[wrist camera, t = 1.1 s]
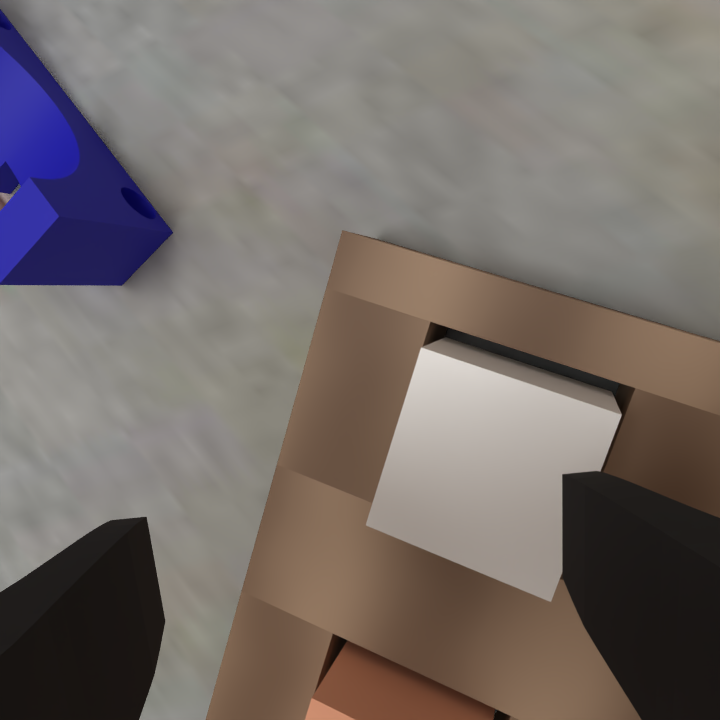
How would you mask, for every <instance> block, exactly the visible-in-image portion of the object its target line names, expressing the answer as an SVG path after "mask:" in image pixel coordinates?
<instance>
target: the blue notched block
mask: <svg viewBox="0 0 720 720" xmlns="http://www.w3.org/2000/svg"><path fill="white" fill-rule="evenodd" d="M18 184H20V185H21V187H20V189H19V190H18V191H17V192H16V193H15V195H14V196H13V197H12V198H11V199H10V200H9V202H8V203H7V204H6V205H5V206H4V208H3V209H2V210H1V211H0V285H118V286H122V285H123V284H124V283H125V282H126V281H127V280H128V279H129V278H130V277H131V276H132V274H133V273H134V272H135V271H136V270H137V269H138V268H139V267H140V266H141V265H142V264H143V263H144V262H145V261H146V260H147V259H148V258H149V257H150V256H151V255H152V254H153V253H154V252H155V251H156V250H157V249H158V248H159V246H160V245H161V244H162V243H163V242H164V241H165V240H166V239H167V238H168V237H169V236H170V235H171V234H172V233H173V232H172V231H171V229H170V228H169V227H168V225H167V224H166V223H165V222H164V220H163V219H162V218H161V216H160V215H159V214H158V213H157V211H156V210H155V209H154V207H153V206H152V205H151V203H150V202H149V201H148V200H147V198H146V197H145V196H144V194H143V193H142V192H141V191H140V189H139V188H138V187H137V185H136V184H135V183H134V181H133V180H132V179H131V178H130V176H129V175H128V174H127V172H126V171H125V170H124V169H123V167H122V166H121V165H120V163H119V162H118V161H117V159H116V158H115V157H114V156H113V154H112V153H111V152H110V150H109V149H108V148H107V147H106V145H105V144H104V143H103V141H102V140H101V139H100V137H99V136H98V135H97V134H96V132H95V131H94V130H93V128H92V127H91V126H90V125H89V123H88V122H87V121H86V119H85V118H84V117H83V116H82V114H81V113H80V112H79V110H78V109H77V108H76V106H75V105H74V104H73V103H72V101H71V100H70V99H69V97H68V96H67V95H66V94H65V92H64V91H63V90H62V88H61V87H60V86H59V84H58V83H57V82H56V81H55V79H54V78H53V77H52V75H51V74H50V73H49V72H48V70H47V69H46V68H45V66H44V65H43V64H42V62H41V61H40V60H39V59H38V57H37V56H36V55H35V53H34V52H33V51H32V50H31V48H30V47H29V46H28V44H27V43H26V42H25V40H24V39H23V38H22V37H21V35H20V34H19V33H18V31H17V30H16V29H15V28H14V26H13V25H12V24H11V22H10V21H9V20H8V18H7V17H6V16H5V15H4V13H3V12H2V11H1V9H0V192H2V193H8V194H11V193H12V191H13V190H14V189H15V188H16V187H17V186H18Z"/></svg>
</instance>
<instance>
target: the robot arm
mask: <svg viewBox="0 0 720 720" xmlns="http://www.w3.org/2000/svg"><path fill="white" fill-rule="evenodd" d="M562 578H563V580H564V583H565V585H566V587H567V590H568V592H569V594H570V597H571V599H572V602H573V604H574V606H575V608H576V611H577V613H578V615H579V617H580V619H581V621H582V624H583V626H584V628H585V629H586V631H587V633H588V634H589V636H590V638H591V639H592V641H593V643H594V644H595V646H596V648H597V649H598V651H599V652H600V654H601V656H602V657H603V659H604V661H605V662H606V664H607V665H608V667H609V669H610V670H611V672H612V673H613V675H614V677H615V678H616V680H617V681H618V683H619V685H620V686H621V688H622V689H623V691H624V693H625V694H626V696H627V697H628V699H629V701H630V702H631V704H632V705H633V707H634V709H635V710H636V712H637V713H638V715H639V716H640V718H641V720H720V518H719V517H716V516H714V515H711V514H708V513H706V512H703V511H701V510H698V509H696V508H693V507H690V506H688V505H685V504H683V503H681V502H678V501H676V500H673V499H671V498H668V497H666V496H663V495H661V494H659V493H656V492H654V491H651V490H649V489H646V488H644V487H642V486H639V485H637V484H634V483H632V482H629V481H627V480H624V479H621V478H619V477H616V476H613V475H610V474H607V473H604V472H600V471H590V472H580V473H570V474H562ZM164 625H165V617H164V611H163V606H162V600H161V595H160V589H159V584H158V578H157V573H156V567H155V561H154V556H153V550H152V545H151V539H150V534H149V528H148V522H147V517H140V518H130V519H120V520H111V521H109V522H107V523H105V524H103V525H101V526H99V527H97V528H96V529H94V530H93V531H91V532H89V533H88V534H86V535H85V536H83V537H82V538H80V539H79V540H77V541H76V542H74V543H73V544H72V545H70V546H69V547H67V548H66V549H64V550H63V551H61V552H60V553H59V554H57V555H56V556H54V557H53V558H51V559H50V560H48V561H47V562H45V563H44V564H43V565H41V566H40V567H38V568H37V569H35V570H34V571H32V572H31V573H29V574H28V575H27V576H25V577H24V578H22V579H20V580H19V581H17V582H16V583H14V584H13V585H11V586H9V587H8V588H6V589H5V590H3V591H2V592H0V720H139V718H140V715H141V712H142V709H143V707H144V704H145V701H146V698H147V695H148V692H149V689H150V686H151V683H152V680H153V677H154V674H155V669H156V665H157V660H158V656H159V651H160V646H161V641H162V635H163V630H164Z"/></svg>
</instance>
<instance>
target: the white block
mask: <svg viewBox="0 0 720 720" xmlns="http://www.w3.org/2000/svg"><path fill="white" fill-rule="evenodd" d="M621 416H622V414H621V412H620V409H619V407H618V405H617V402H616V400H615V398H614V395H613V393H612V392H611V391H608V390H605V389H602V388H599V387H596V386H593V385H590V384H587V383H584V382H581V381H578V380H575V379H572V378H569V377H566V376H563V375H559V374H556V373H553V372H550V371H547V370H544V369H541V368H538V367H535V366H532V365H529V364H526V363H523V362H520V361H517V360H514V359H511V358H508V357H505V356H502V355H499V354H496V353H492V352H489V351H486V350H483V349H480V348H477V347H474V346H471V345H468V344H465V343H462V342H459V341H456V340H453V339H450V338H447V337H445V338H443V339H440V340H438V341H435V342H433V343H431V344H428V345H426V346H423V347H421V349H420V353H419V356H418V359H417V362H416V365H415V369H414V372H413V375H412V378H411V381H410V385H409V388H408V391H407V394H406V397H405V401H404V404H403V407H402V410H401V413H400V417H399V420H398V423H397V426H396V429H395V433H394V436H393V439H392V442H391V445H390V449H389V452H388V455H387V458H386V461H385V465H384V468H383V471H382V474H381V477H380V481H379V484H378V487H377V490H376V493H375V497H374V500H373V503H372V506H371V510H370V513H369V516H368V519H367V522H366V526H369V527H371V528H373V529H376V530H378V531H381V532H383V533H385V534H388V535H390V536H393V537H395V538H397V539H400V540H402V541H405V542H407V543H410V544H412V545H414V546H417V547H419V548H422V549H424V550H426V551H429V552H431V553H434V554H436V555H438V556H441V557H443V558H446V559H448V560H451V561H453V562H455V563H458V564H460V565H463V566H465V567H467V568H470V569H472V570H475V571H477V572H479V573H482V574H484V575H487V576H489V577H492V578H494V579H496V580H499V581H501V582H504V583H506V584H508V585H511V586H513V587H516V588H518V589H520V590H523V591H525V592H528V593H530V594H533V595H535V596H537V597H540V598H542V599H545V600H547V601H549V602H551V600H552V598H553V595H554V593H555V590H556V587H557V585H558V582H559V579H560V577H561V574H562V474H570V473H580V472H590V471H601V469H602V466H603V463H604V461H605V458H606V455H607V453H608V450H609V447H610V445H611V442H612V440H613V437H614V434H615V432H616V429H617V426H618V424H619V421H620V418H621Z"/></svg>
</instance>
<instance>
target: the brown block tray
mask: <svg viewBox="0 0 720 720" xmlns="http://www.w3.org/2000/svg"><path fill="white" fill-rule="evenodd" d="M448 327H449V328H452V329H455V330H458V331H461V332H464V333H467V334H470V335H473V336H476V337H479V338H483V339H486V340H489V341H492V342H495V343H498V344H501V345H504V346H507V347H510V348H513V349H516V350H520V351H523V352H526V353H529V354H532V355H535V356H538V357H541V358H544V359H547V360H550V361H553V362H557V363H560V364H563V365H566V366H569V367H572V368H575V369H578V370H581V371H584V372H587V373H590V374H594V375H597V376H600V377H603V378H606V379H609V380H612V381H615V382H618V383H620V385H619V387H618V390H617V393H616V395H615V400H616V402H617V405H618V407H619V409H620V412H621V414H622V416H621V418H620V421H619V424H618V426H617V429H616V432H615V434H614V437H613V440H612V442H611V445H610V447H609V450H608V453H607V455H606V458H605V461H604V463H603V466H602V469H601V471H600V472H604V473H607V474H610V475H613V476H616V477H619V478H621V479H624V480H627V481H629V482H632V483H634V484H637V485H639V486H642V487H644V488H646V489H649V490H651V491H654V492H656V493H659V494H661V495H663V496H666V497H668V498H671V499H673V500H676V501H678V502H681V503H683V504H685V505H688V506H690V507H693V508H696V509H698V510H701V511H703V512H706V513H708V514H711V515H714V516H716V517H719V518H720V341H717V340H713V339H710V338H707V337H703V336H700V335H697V334H693V333H690V332H686V331H683V330H680V329H676V328H673V327H670V326H666V325H663V324H660V323H656V322H653V321H650V320H646V319H643V318H640V317H636V316H633V315H629V314H626V313H623V312H619V311H616V310H613V309H609V308H606V307H603V306H599V305H596V304H593V303H589V302H586V301H583V300H579V299H576V298H572V297H569V296H566V295H562V294H559V293H556V292H552V291H549V290H546V289H542V288H539V287H536V286H532V285H529V284H526V283H522V282H519V281H516V280H512V279H509V278H505V277H502V276H499V275H495V274H492V273H489V272H485V271H482V270H479V269H475V268H472V267H469V266H465V265H462V264H459V263H455V262H452V261H448V260H445V259H442V258H438V257H435V256H432V255H428V254H425V253H422V252H418V251H415V250H412V249H408V248H405V247H402V246H398V245H395V244H392V243H388V242H385V241H381V240H378V239H375V238H371V237H367V236H363V235H359V234H355V233H351V232H347V231H343V230H342V234H341V237H340V241H339V244H338V248H337V251H336V255H335V259H334V262H333V266H332V269H331V273H330V276H329V280H328V284H327V287H326V291H325V294H324V298H323V302H322V305H321V309H320V312H319V316H318V319H317V323H316V327H315V330H314V334H313V337H312V341H311V345H310V348H309V352H308V355H307V359H306V362H305V366H304V370H303V373H302V377H301V380H300V384H299V388H298V391H297V395H296V398H295V402H294V405H293V409H292V413H291V416H290V420H289V423H288V427H287V431H286V434H285V438H284V441H283V445H282V448H281V452H280V456H279V459H278V463H277V466H276V470H275V473H274V477H273V481H272V484H271V488H270V491H269V495H268V499H267V502H266V506H265V509H264V513H263V516H262V520H261V524H260V527H259V531H258V534H257V538H256V542H255V545H254V549H253V552H252V556H251V559H250V563H249V567H248V570H247V574H246V577H245V581H244V585H243V588H242V592H241V595H240V599H239V602H238V606H237V610H236V613H235V617H234V620H233V624H232V628H231V631H230V635H229V638H228V642H227V645H226V649H225V653H224V656H223V660H222V663H221V667H220V670H219V674H218V678H217V681H216V685H215V688H214V692H213V696H212V699H211V703H210V706H209V710H208V713H207V717H206V720H305V718H306V715H307V711H308V708H309V705H310V702H311V699H312V697H313V695H314V693H315V692H316V690H317V689H318V687H319V685H320V684H321V682H322V681H323V679H324V677H325V676H326V674H327V672H328V671H329V669H330V668H331V666H332V664H333V663H334V661H335V660H336V658H337V656H338V655H339V653H340V652H341V650H342V648H343V647H344V645H345V643H346V642H347V640H348V641H350V642H352V643H355V644H357V645H359V646H361V647H363V648H365V649H367V650H370V651H372V652H374V653H376V654H378V655H380V656H383V657H385V658H387V659H389V660H391V661H393V662H395V663H398V664H400V665H402V666H404V667H406V668H408V669H411V670H413V671H415V672H417V673H419V674H421V675H424V676H426V677H428V678H430V679H432V680H434V681H436V682H439V683H441V684H443V685H445V686H447V687H449V688H452V689H454V690H456V691H458V692H460V693H462V694H464V695H467V696H469V697H471V698H473V699H475V700H477V701H480V702H482V703H484V704H486V705H488V706H490V707H492V708H495V709H497V713H496V715H495V718H494V720H641V718H640V716H639V715H638V713H637V712H636V710H635V709H634V707H633V705H632V704H631V702H630V701H629V699H628V697H627V696H626V694H625V693H624V691H623V689H622V688H621V686H620V685H619V683H618V681H617V680H616V678H615V677H614V675H613V673H612V672H611V670H610V669H609V667H608V665H607V664H606V662H605V661H604V659H603V657H602V656H601V654H600V652H599V651H598V649H597V648H596V646H595V644H594V643H593V641H592V639H591V638H590V636H589V634H588V633H587V631H586V629H585V628H584V626H583V624H582V621H581V619H580V617H579V615H578V613H577V611H576V608H575V606H574V604H573V602H572V599H571V597H570V594H569V592H568V590H567V587H566V585H565V583H564V580H563V578H562V574H561V577H560V579H559V582H558V585H557V587H556V590H555V593H554V595H553V598H552V600H551V602H549V601H547V600H545V599H542V598H540V597H537V596H535V595H533V594H530V593H528V592H525V591H523V590H520V589H518V588H516V587H513V586H511V585H508V584H506V583H504V582H501V581H499V580H496V579H494V578H492V577H489V576H487V575H484V574H482V573H479V572H477V571H475V570H472V569H470V568H467V567H465V566H463V565H460V564H458V563H455V562H453V561H451V560H448V559H446V558H443V557H441V556H438V555H436V554H434V553H431V552H429V551H426V550H424V549H422V548H419V547H417V546H414V545H412V544H410V543H407V542H405V541H402V540H400V539H397V538H395V537H393V536H390V535H388V534H385V533H383V532H381V531H378V530H376V529H373V528H371V527H369V526H366V522H367V519H368V516H369V513H370V510H371V506H372V503H373V500H374V497H375V493H376V490H377V487H378V484H379V481H380V477H381V474H382V471H383V468H384V465H385V461H386V458H387V455H388V452H389V449H390V445H391V442H392V439H393V436H394V433H395V429H396V426H397V423H398V420H399V417H400V413H401V410H402V407H403V404H404V401H405V397H406V394H407V391H408V388H409V385H410V381H411V378H412V375H413V372H414V369H415V365H416V362H417V359H418V356H419V353H420V349H421V347H423V346H426V345H428V344H431V343H433V342H435V341H438V340H440V339H443V338H444V337H445V334H446V331H447V328H448Z"/></svg>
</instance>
